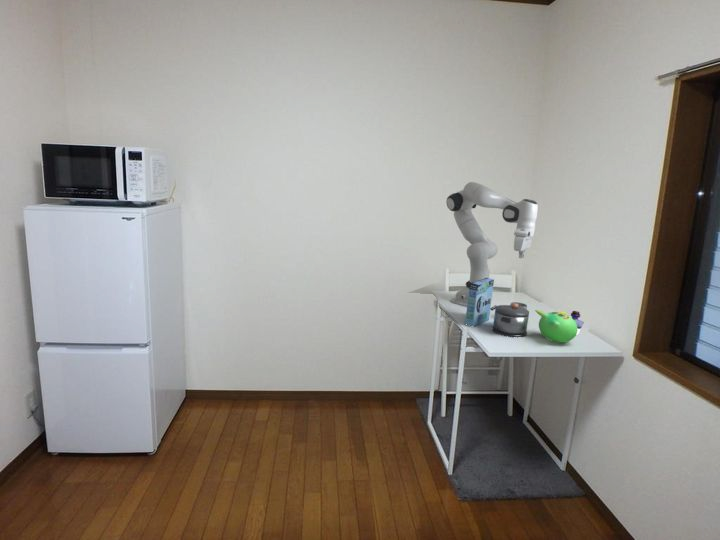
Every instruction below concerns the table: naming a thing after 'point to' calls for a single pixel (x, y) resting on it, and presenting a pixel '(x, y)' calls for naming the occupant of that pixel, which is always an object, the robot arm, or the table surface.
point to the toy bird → (557, 326)
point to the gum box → (479, 301)
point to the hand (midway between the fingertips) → (521, 257)
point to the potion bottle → (575, 317)
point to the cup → (520, 305)
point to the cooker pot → (510, 325)
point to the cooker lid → (511, 310)
